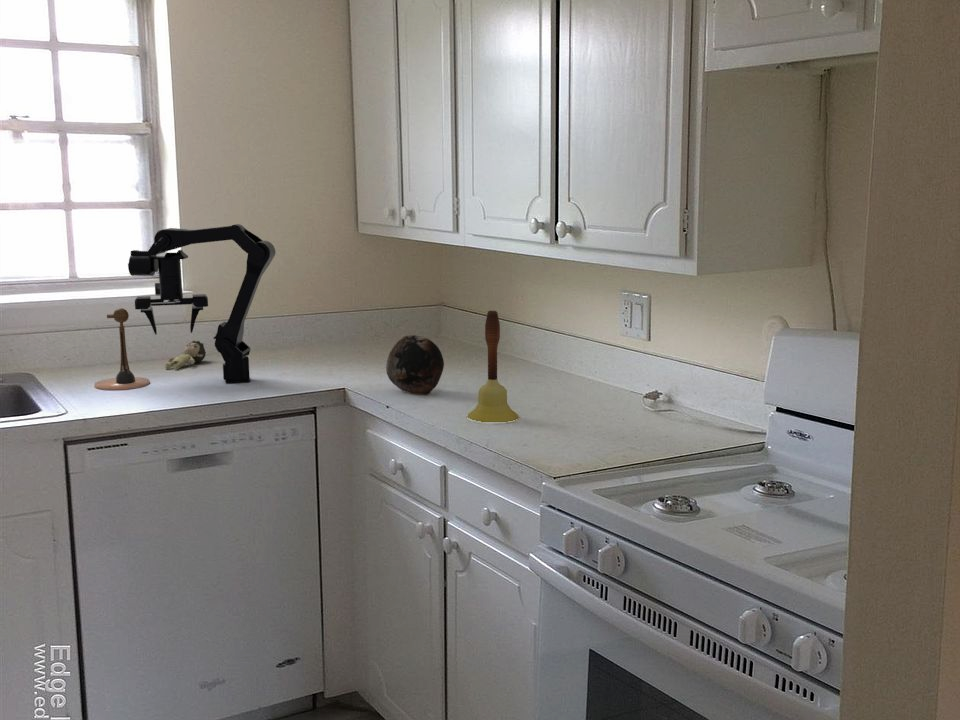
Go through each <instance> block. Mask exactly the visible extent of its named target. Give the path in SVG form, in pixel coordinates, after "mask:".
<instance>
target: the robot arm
mask: <svg viewBox="0 0 960 720" xmlns="http://www.w3.org/2000/svg"><path fill="white" fill-rule="evenodd" d="M153 238H154V239H153V243H152V245H151V246H150V247H149V248H148V250H138V249H133V250H131V251H130V256H129V259H128V263H127V267H128V272H129V275H130V276H132V277H139V276H140V277H149V276H150V277H153V276H155V273H157V272H158V280H159V282H156V283H155V282H154V293H155V297H157V296H158V297H159V296H160V298H151V295H147V296H143V295H142V296H137V297H135V299H134V310H140V313H143V314H145V316H146V318H147V319H148V321H149V324H150V325H151V328H152V330H153V332H154V335H155V336H156V335H158V332H157V324H156V319H155V315H154V314H155V313H154V308H153V307H154V306H155V307H156V306H157V307H159V306H177V305H178V306H181V305H183V306H184V305H191V314H190V327H189V330H190V334H192V333H193V331H194V329H195V328H194V326H195V323H196V320H197V317H198V315H199V312H200V311H204V308H206V307H209V299H208V295H206V293H202V294H201V293H200V294H199V293H197V294H192V297H183V296H184V294H183V293H184V291H183V283H182V282H183V281H182V265H181V264H182V263H181V260H185V259H188V258H189V255H188V254H186V253H185V251H183V250H182V249H180V248H183V247H187V246H189V245H194V244H195V245H196V244H204V243H213V242H223V241H231V240H232V241H233V242H234V243H236V245H237V246H238V247H239V248H241V250H242V251H244V252H245V253H246V254H247V258H246V267H245V268H246V271H245V275H244V277H243V280H242V283H241V285H240V287H239V290H238V293H237V296H236V298H235V302H234V303H233V307H232V309H231V313H230V315H229V318H228V320H227V321H223V322H221V323H220V324H218V327H217V331H216V334H215V336H214V337H213V340H214V346H215V349H216V350H217V352H218V353H220V355H221V357H222V359H223V361H224V363H222V375H223V376H222V378H223V380H224V381H225V383H226V384H234V383H249V382H251V378H250V358H249V355H250V354H251V353H250V352H251V350H252V349H251V346H249V345H248V344H247V343H245V342H244V340H243V338H244V332H245V331H244V330H245V322H246V318H247V316H248V313H249V311H250V308H251V305H252V302H253V300H254V297H255V294H256V292H257V290H258V288H259V287H258V286H259V284H260V281H261V279H262V276H263V275H264V273H265V272H266V270H267V269H268V268H269V266H270V264H271V263H272V261H273V259H274V257H276V256H275V255H276V248H275V246H274V245H273V244H272V242H270V241H268V240H263V239H261V238H260V237H259V236H258V235H256V234H254V233H253V232H252V231H250V230H249V229H247V228H246V227H244V226H243V225H242V224H240V223H236V224H232V225H227V226H218V227H217V226H216V227H207V228H199V229H187V228H175V227H169V228H164V229H159V230H158V231H157V232H156V233H155V235H154V237H153ZM177 249H178V250H177ZM179 249H180V250H179ZM173 250H177V252H169V251H173ZM164 253H165V254H164ZM161 254H164V256H163V255H161ZM157 255H159V256H157ZM160 255H161V256H160Z"/></svg>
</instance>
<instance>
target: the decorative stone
mask: <svg viewBox="0 0 960 720" xmlns="http://www.w3.org/2000/svg"><path fill="white" fill-rule="evenodd" d="M385 366H386V367H385V368H386V370H385V371H386V375H387V377H388V379H389V381H390V382H391V383H392V384H393V386H395V387H397V388H398V389H399V390H401V391H403V392H404V391H405V392H404V393H409V394H416V395H429V394H431V392H432V391H433V390H434V389H435V388H436V387H437V385H439V382H440V381H441V377H442V375H443V371H444V367H445V361H444V358H443V354H442V351H441V350H440V348H439V347H438V346H437V344H436V343H435V342H434V341H432V340H430V338H428V337H425V336H422V335H417V334H408V335H407V334H406V335H402V336H401V337H400V338H398V340H397V341H396V342H395V344H394V345H393V346H392V348H391V350H390V351H389V353H388V356H387V360H386V364H385Z"/></svg>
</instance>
